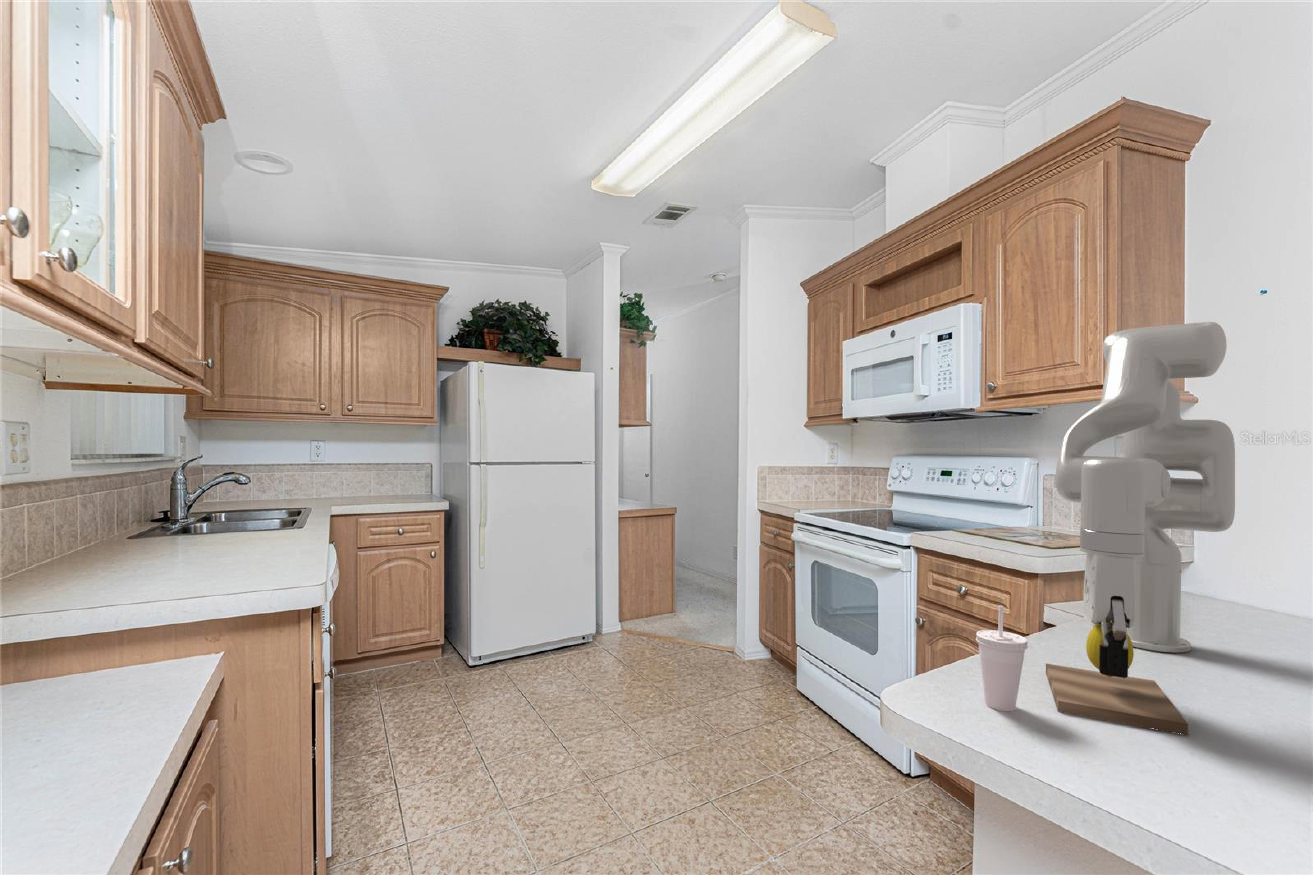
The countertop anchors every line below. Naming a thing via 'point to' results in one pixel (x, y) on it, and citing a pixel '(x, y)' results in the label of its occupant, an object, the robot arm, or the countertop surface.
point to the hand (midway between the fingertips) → (1109, 667)
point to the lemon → (1095, 642)
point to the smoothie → (1001, 665)
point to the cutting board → (1113, 699)
